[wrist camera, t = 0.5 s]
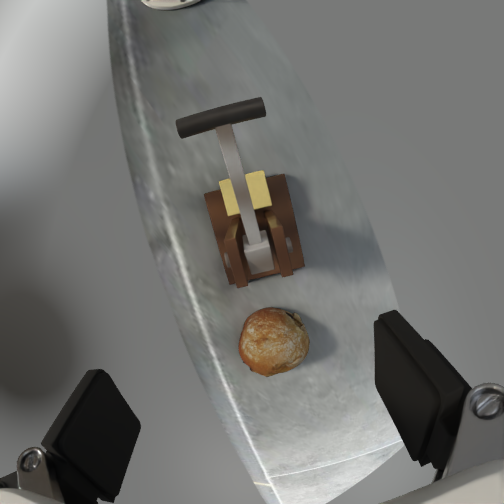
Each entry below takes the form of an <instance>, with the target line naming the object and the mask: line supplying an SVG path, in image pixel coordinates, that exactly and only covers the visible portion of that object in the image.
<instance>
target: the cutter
mask: <svg viewBox="0 0 504 504" xmlns="http://www.w3.org/2000/svg"><path fill="white" fill-rule="evenodd" d="M266 182H267V186H268V190H269V194H270V198H271V202H272V205H271V206H267V207H263V208H259V209H255V210H254V212H255V216H256V219H257V223H258V227H259V231H263V230H266V233H267V237H268V241H269V245H270V249H271V253H272V257H273V261H274V266H275V269H274V270H270V271H265V272H261V273H257V274H253V275H252V274H251V272H250V268H249V265H248V262H247V259H246V256H245V253H244V246H243V239H242V236H243V235H247V234H246V231H245V228H244V224H243V221H242V218H241V214H240V213H239V214H235V215H231V216H228V214H227V210H226V207H225V203H224V199H223V195H222V192H221V189H220V190H216V191H213V192H209V193H205V194H204V197H205V200H206V204H207V208H208V211H209V215H210V218H211V222H212V226H213V229H214V233H215V236H216V240H217V243H218V247H219V250H220V254H221V257H222V261H223V264H224V267H225V271H226V274H227V278H228V281H229V284H235V283H236V286H237V288H241V287H245V286H248V280H252V279H256V278H260V277H264V276H268V275H272V274H277V273H281V275H282V277H286V276H290V275H293V269H297V268H301V267H305V264H304V259H303V254H302V249H301V244H300V240H299V235H298V230H297V226H296V221H295V217H294V212H293V208H292V204H291V199H290V195H289V191H288V187H287V182H286V178H285V174H280V175H276V176H271V177H267V178H266Z"/></svg>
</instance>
